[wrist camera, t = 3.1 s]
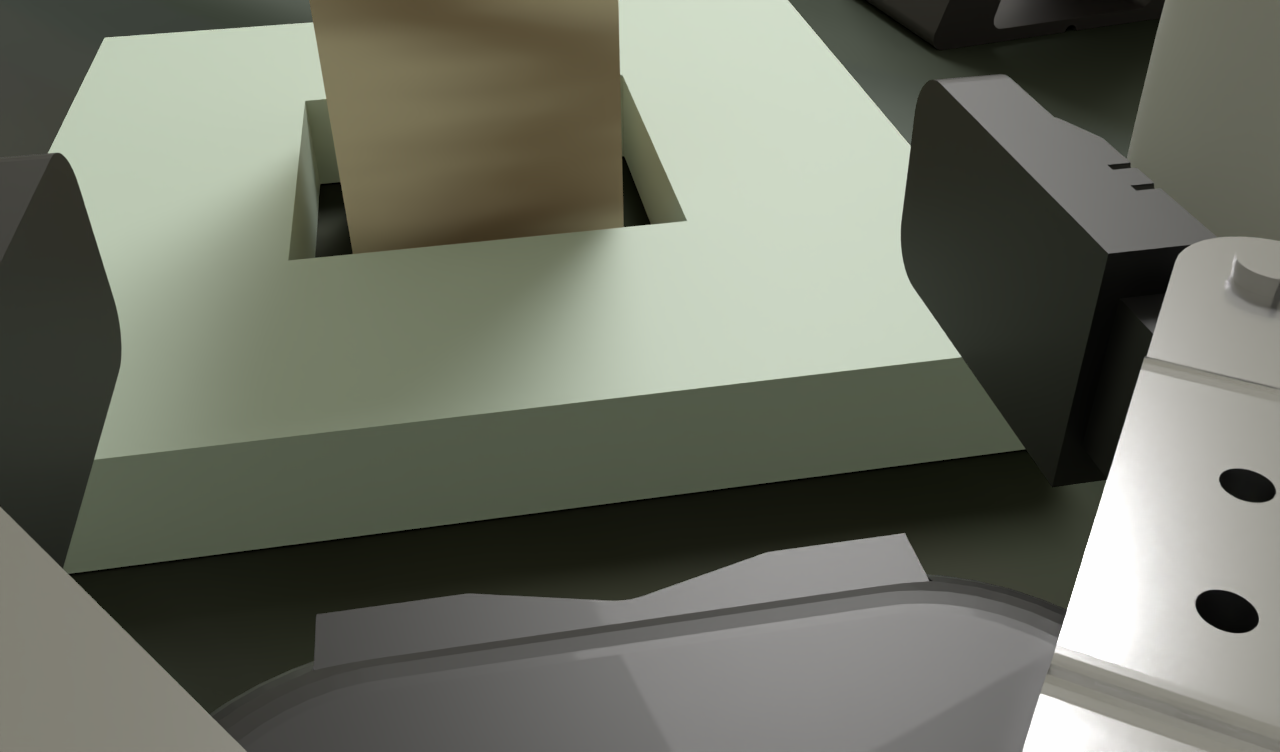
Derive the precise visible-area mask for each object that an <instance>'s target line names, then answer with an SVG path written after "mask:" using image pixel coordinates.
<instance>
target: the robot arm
mask: <svg viewBox="0 0 1280 752" xmlns="http://www.w3.org/2000/svg"><path fill="white" fill-rule="evenodd" d="M901 250H902V257H903V263H904V267H905V270H906V273H907V276H908V279H909V281H910V283H911V285H912V286H913V288H914V289H915V291H916V292H917V294H918V295H919V296H920V298H921V299H922V301H923V302H924V304H925V305H926V307H927V308H928V309H929V311H930V312H931V314H932V315H933V317H934V318H935V319H936V321H937V322H938V324H939V325H940V327H941V328H942V330H943V331H944V332H945V334H946V335H947V337H948V338H949V340H950V341H951V342H952V344H953V345H954V347H955V348H956V350H957V351H958V353H959V354H960V355H961V357H962V358H963V360H964V361H965V363H966V364H967V365H968V367H969V368H970V370H971V371H972V373H973V374H974V376H975V377H976V378H977V380H978V381H979V383H980V384H981V386H982V387H983V388H984V390H985V391H986V393H987V394H988V396H989V397H990V399H991V400H992V401H993V403H994V404H995V406H996V407H997V409H998V410H999V411H1000V413H1001V414H1002V416H1003V417H1004V419H1005V420H1006V422H1007V423H1008V424H1009V426H1010V427H1011V429H1012V430H1013V432H1014V433H1015V434H1016V436H1017V437H1018V439H1019V440H1020V442H1021V443H1022V445H1023V446H1024V447H1025V449H1026V450H1027V452H1028V453H1029V455H1030V456H1031V457H1032V459H1033V460H1034V462H1035V463H1036V465H1037V466H1038V468H1039V469H1040V470H1041V472H1042V473H1043V475H1044V476H1045V478H1046V479H1047V480H1048V482H1049V483H1050V485H1051V486H1052V487H1056V486H1064V485H1071V484H1078V483H1086V482H1093V481H1101V480H1107V482H1106V485H1105V488H1104V491H1103V495H1102V498H1101V501H1100V505H1099V508H1098V511H1097V514H1096V518H1095V521H1094V524H1093V527H1092V531H1091V534H1090V537H1089V541H1088V544H1087V547H1086V550H1085V554H1084V557H1083V560H1082V564H1081V567H1080V570H1079V573H1078V577H1077V580H1076V583H1075V586H1074V590H1073V593H1072V596H1071V600H1070V603H1069V606H1068V609H1067V610H1066V609H1064V608H1061V607H1059V606H1057V605H1054V604H1052V603H1050V602H1047V601H1045V600H1043V599H1040V598H1036V597H1033V596H1030V595H1027V594H1024V593H1021V592H1018V591H1015V590H1012V589H1009V588H1005V587H1001V586H997V585H992V584H988V583H984V582H980V581H975V580H969V579H962V578H955V577H948V576H940V575H926V573H925V571H924V569H923V567H922V566H921V564H920V562H919V560H918V558H917V556H916V554H915V552H914V550H913V548H912V546H911V544H910V542H909V541H908V539H907V537H906V535H905V533H902V534H895V535H888V536H880V537H873V538H866V539H859V540H851V541H844V542H837V543H830V544H823V545H815V546H808V547H801V548H794V549H786V550H779V551H772V552H766V553H763V554H761V555H758V556H755V557H752V558H749V559H746V560H744V561H741V562H738V563H735V564H732V565H729V566H727V567H724V568H721V569H718V570H715V571H712V572H710V573H707V574H704V575H701V576H698V577H696V578H693V579H690V580H687V581H684V582H681V583H679V584H676V585H673V586H670V587H667V588H664V589H662V590H659V591H656V592H653V593H650V594H647V595H645V596H642V597H638V598H634V599H629V600H622V601H605V600H586V599H566V598H547V597H527V596H508V595H488V594H469V593H468V594H461V595H453V596H446V597H439V598H432V599H424V600H417V601H410V602H403V603H395V604H388V605H381V606H374V607H367V608H359V609H352V610H345V611H338V612H330V613H323V614H316V630H315V652H314V661H313V662H310V663H308V664H305V665H302V666H299V667H297V668H294V669H291V670H289V671H287V672H284V673H282V674H280V675H278V676H276V677H274V678H271V679H269V680H267V681H265V682H263V683H260V684H258V685H256V686H254V687H253V688H251V689H249V690H247V691H246V692H244V693H242V694H240V695H239V696H237V697H235V698H233V699H232V700H230V701H228V702H226V703H225V704H223V705H222V706H220V707H219V708H217V709H216V710H215V711H213V712H212V713H210V714H208V713H207V712H206V711H205V710H204V709H203V708H202V707H201V706H200V705H199V704H198V703H197V702H196V701H195V700H194V699H193V698H192V697H191V696H190V695H189V694H188V693H187V692H186V691H185V690H184V689H183V688H182V687H181V686H180V685H179V684H178V683H177V682H176V681H175V680H174V679H173V678H172V677H171V676H170V675H169V674H168V673H167V672H166V671H165V670H164V669H163V668H162V667H161V666H160V665H159V664H158V663H157V662H156V661H155V660H154V659H153V658H152V657H151V656H150V655H149V654H148V653H147V652H146V651H145V650H144V649H143V648H142V647H141V646H140V645H139V644H138V643H137V642H136V641H135V640H134V639H133V638H132V637H131V636H130V635H129V634H128V633H127V632H126V631H125V630H124V629H123V628H122V627H121V626H120V625H119V624H118V623H117V622H116V621H115V620H114V619H113V618H112V617H111V616H110V615H109V614H108V613H107V612H106V611H105V610H104V609H103V608H102V607H101V606H100V605H99V604H98V603H97V602H96V601H95V600H94V599H93V598H92V597H91V596H90V595H89V594H88V593H87V592H86V591H85V590H84V589H83V588H82V587H81V586H80V585H79V584H78V583H77V582H76V581H75V580H74V579H73V578H72V577H71V576H70V575H69V574H68V573H67V572H66V571H64V570H63V567H64V563H65V560H66V556H67V553H68V549H69V546H70V542H71V539H72V535H73V532H74V528H75V525H76V521H77V518H78V514H79V511H80V507H81V504H82V500H83V497H84V493H85V490H86V486H87V483H88V479H89V476H90V472H91V469H92V465H93V462H94V458H95V455H96V451H97V448H98V444H99V441H100V437H101V434H102V430H103V427H104V423H105V420H106V416H107V413H108V409H109V406H110V402H111V399H112V395H113V392H114V388H115V385H116V381H117V377H118V374H119V370H120V365H121V353H122V346H121V331H120V324H119V318H118V313H117V308H116V304H115V301H114V297H113V294H112V291H111V288H110V284H109V281H108V278H107V275H106V272H105V268H104V265H103V262H102V259H101V255H100V252H99V249H98V246H97V242H96V239H95V236H94V233H93V230H92V226H91V223H90V220H89V217H88V213H87V210H86V207H85V204H84V200H83V197H82V194H81V191H80V188H79V184H78V181H77V179H76V176H75V173H74V171H73V169H72V167H71V165H70V163H69V162H68V160H67V159H66V158H65V157H64V156H63V155H62V154H61V153H47V154H35V155H24V156H12V157H0V752H1280V241H1276V240H1270V239H1264V238H1255V237H1219V238H1217V237H1216V236H1215V235H1214V234H1213V233H1212V232H1210V231H1209V230H1208V229H1207V228H1206V227H1205V226H1204V225H1202V224H1201V223H1200V222H1199V221H1198V220H1197V219H1195V218H1194V217H1193V216H1192V215H1191V214H1190V213H1188V212H1187V211H1186V210H1185V209H1184V208H1183V207H1182V206H1180V205H1179V204H1178V203H1177V202H1176V201H1175V200H1173V199H1172V198H1171V197H1170V196H1169V195H1168V194H1167V193H1165V192H1164V191H1163V190H1162V189H1161V188H1158V189H1155V188H1154V182H1153V181H1151V180H1150V179H1149V178H1148V177H1147V176H1146V175H1145V174H1143V173H1142V172H1141V171H1140V170H1139V169H1138V168H1131V162H1129V161H1128V160H1127V159H1126V158H1125V157H1124V156H1123V155H1121V154H1120V153H1119V152H1118V151H1117V150H1116V149H1114V148H1113V147H1112V146H1111V145H1110V144H1109V143H1108V142H1106V141H1105V140H1104V139H1103V138H1102V137H1099V136H1097V135H1095V134H1093V133H1090V132H1088V131H1086V130H1084V129H1081V128H1079V127H1077V126H1075V125H1072V124H1070V123H1068V122H1066V121H1063V120H1061V119H1059V118H1054V117H1053V116H1052V115H1051V114H1050V113H1049V112H1048V111H1047V110H1045V109H1044V108H1043V107H1042V106H1041V105H1040V104H1039V103H1038V102H1036V101H1035V100H1034V99H1033V98H1032V97H1031V96H1030V95H1029V94H1028V93H1026V92H1025V91H1024V90H1023V89H1022V88H1021V87H1020V86H1019V85H1017V84H1016V83H1015V82H1014V81H1013V80H1012V79H1011V78H1010V77H1008V76H1007V75H1004V74H997V75H985V76H973V77H961V78H949V79H938V80H930V81H928V82H927V83H926V84H925V85H924V86H923V88H922V90H921V91H920V94H919V97H918V100H917V104H916V110H915V117H914V125H913V133H912V141H911V149H910V157H909V165H908V173H907V180H906V188H905V196H904V204H903V212H902V220H901Z"/></svg>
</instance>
